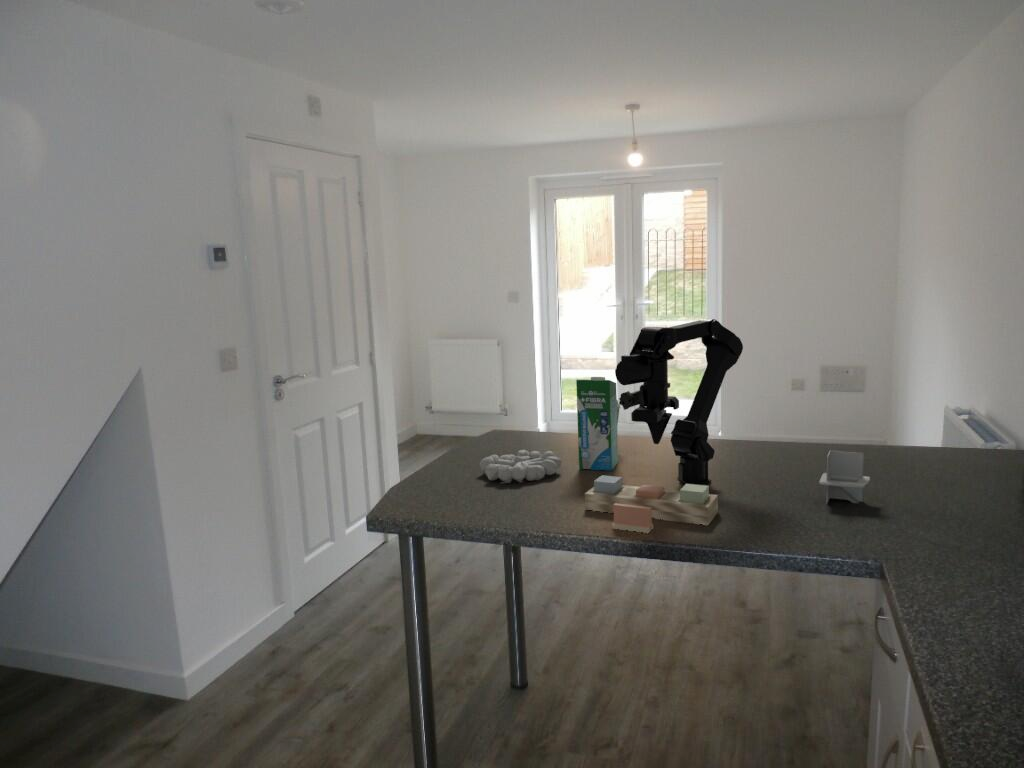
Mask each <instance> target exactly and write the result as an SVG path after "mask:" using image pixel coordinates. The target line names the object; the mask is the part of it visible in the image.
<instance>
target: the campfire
mask: <svg viewBox="0 0 1024 768" xmlns="http://www.w3.org/2000/svg"><path fill="white" fill-rule="evenodd" d="M561 466H562V459H561V458H559V457H557V455H556V454H555V453H554V452H553V451H551V450H547V451H544V453H543V454H542V453H541V452H540V451H537V450H533V451H530V452H529V451H528V450H526V449H521V450H518V451H517V454H516V455H515V454H511V453H510V454H502V455H501V456H499V455H497V454H491V455H489V456H486V457H484V458H483V459H482V460H480V462H479V467H480V469H481V471H482V472H485V476H486V478H487V479H488V480H489V481H496V480H498V479H500V481H503V482H507V481H510V480H512V479H514V480H515V481H517V482H522V481H523V480H524V479H525V480H526V481H529V482H530V481H531V482H532V481H540V480H542V479H543V477H545V475H547V476H552V475H554V474H556V472H557V471H558V470H560V468H561Z"/></svg>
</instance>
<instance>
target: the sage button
mask: <svg viewBox="0 0 1024 768" xmlns="http://www.w3.org/2000/svg"><path fill="white" fill-rule="evenodd" d="M709 489H710V486H709V485H705V484H685V483H684V485H683V486H682V488H680V490H679V491H680V502H687V503H696V504H705V503H706V502H707V501H708V499H709V494H710V490H709Z"/></svg>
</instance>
